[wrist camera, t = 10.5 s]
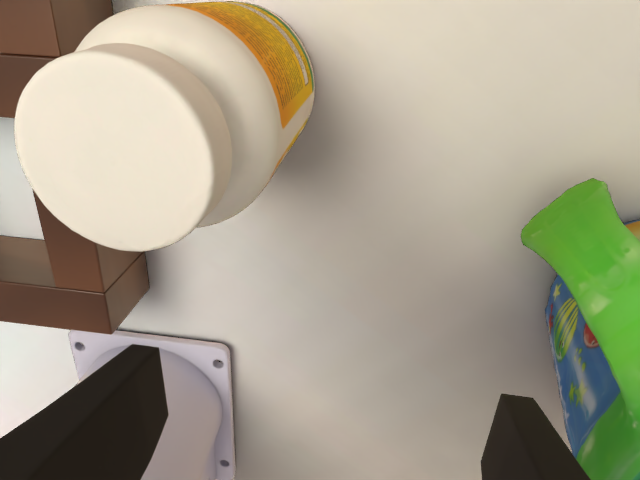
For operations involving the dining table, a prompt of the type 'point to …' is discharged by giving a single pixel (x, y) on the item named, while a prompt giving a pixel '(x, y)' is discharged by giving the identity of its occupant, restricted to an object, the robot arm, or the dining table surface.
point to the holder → (60, 241)
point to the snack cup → (594, 325)
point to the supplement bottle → (164, 120)
